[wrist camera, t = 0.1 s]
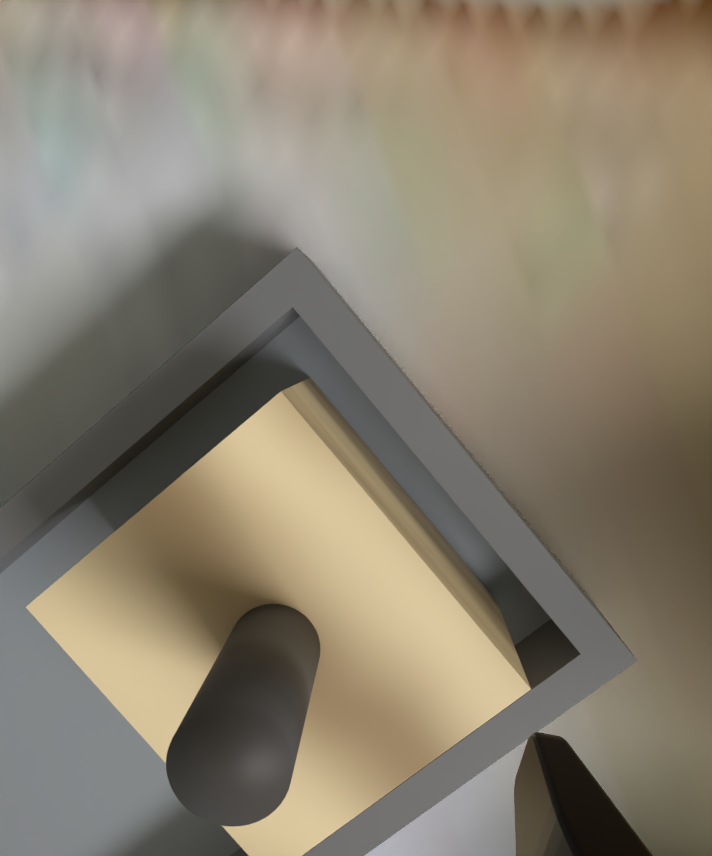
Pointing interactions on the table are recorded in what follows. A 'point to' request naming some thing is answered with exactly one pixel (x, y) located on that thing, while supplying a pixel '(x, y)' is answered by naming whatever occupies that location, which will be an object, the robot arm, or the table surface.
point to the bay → (163, 464)
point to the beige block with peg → (286, 629)
